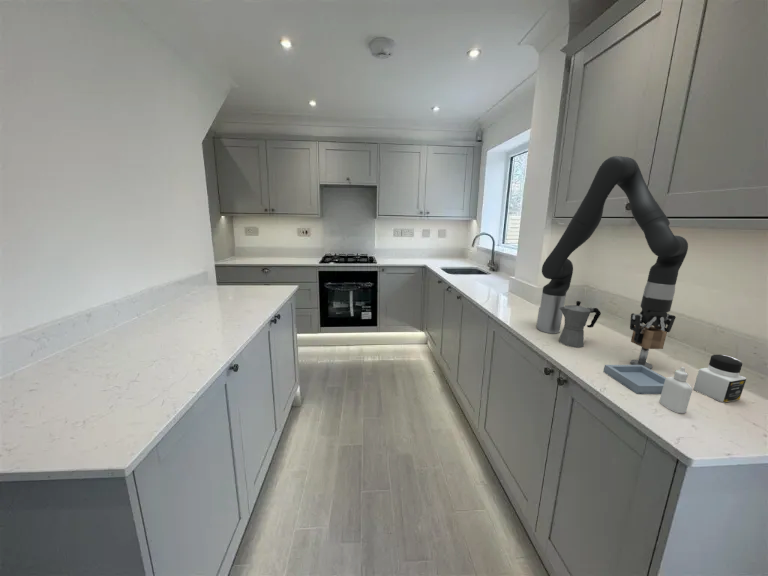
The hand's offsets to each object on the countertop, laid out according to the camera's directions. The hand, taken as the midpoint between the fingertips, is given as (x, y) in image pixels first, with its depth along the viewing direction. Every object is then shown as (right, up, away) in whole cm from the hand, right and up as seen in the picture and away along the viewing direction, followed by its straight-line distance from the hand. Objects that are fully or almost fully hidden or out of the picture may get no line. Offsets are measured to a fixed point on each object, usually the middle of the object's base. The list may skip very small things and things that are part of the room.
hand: (646, 342), depth 104 cm
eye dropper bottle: (-12, -14, -22) cm, 29 cm away
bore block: (0, -1, 0) cm, 1 cm away
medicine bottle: (+7, -13, -15) cm, 21 cm away
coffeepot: (-13, -4, +20) cm, 24 cm away
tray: (-11, -11, -9) cm, 18 cm away
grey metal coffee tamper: (0, -8, +2) cm, 9 cm away
